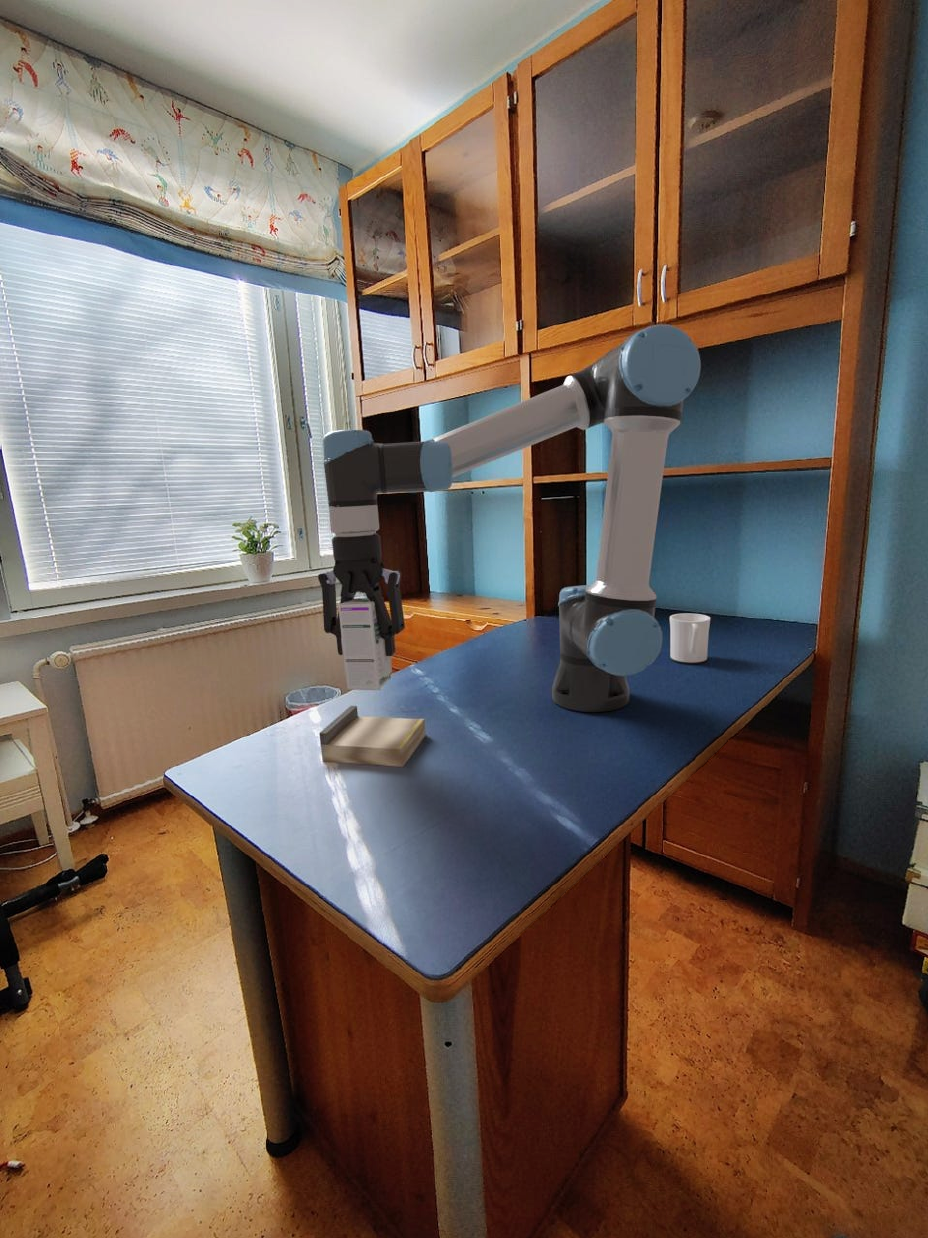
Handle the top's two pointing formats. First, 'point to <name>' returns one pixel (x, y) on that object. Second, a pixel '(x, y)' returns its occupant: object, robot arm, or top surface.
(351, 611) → the syrup box
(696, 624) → the mug
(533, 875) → the top surface
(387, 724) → the dock
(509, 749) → the top surface
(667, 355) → the robot arm
